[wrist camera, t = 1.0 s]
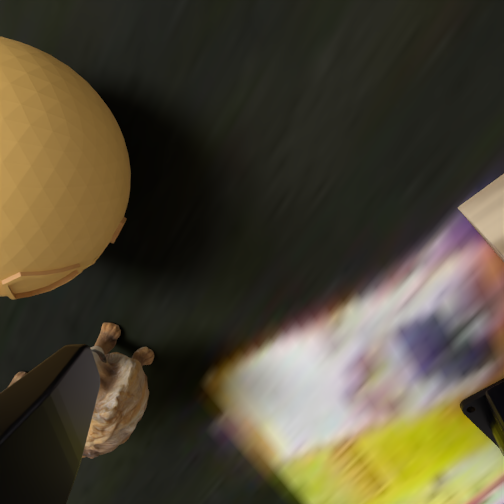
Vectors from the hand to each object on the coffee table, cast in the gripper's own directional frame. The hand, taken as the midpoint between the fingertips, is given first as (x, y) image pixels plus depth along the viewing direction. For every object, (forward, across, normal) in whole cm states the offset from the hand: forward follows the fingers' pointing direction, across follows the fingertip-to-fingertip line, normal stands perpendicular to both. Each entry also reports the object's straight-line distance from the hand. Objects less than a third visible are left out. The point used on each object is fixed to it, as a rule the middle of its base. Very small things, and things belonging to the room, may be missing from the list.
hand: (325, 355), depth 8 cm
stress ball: (+15, +12, 0) cm, 19 cm away
